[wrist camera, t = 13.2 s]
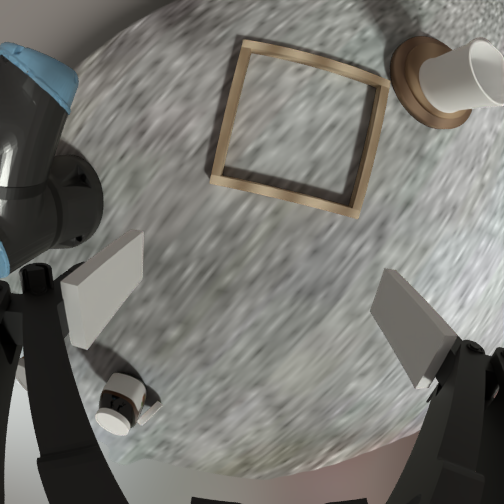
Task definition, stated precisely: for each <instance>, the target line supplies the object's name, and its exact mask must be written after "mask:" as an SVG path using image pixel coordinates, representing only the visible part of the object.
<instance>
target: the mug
mask: <svg viewBox="0 0 504 504" xmlns="http://www.w3.org/2000/svg"><path fill="white" fill-rule="evenodd" d="M419 82H420V86H421V89H422V92H423V94H424V95H425V97H426V99H427V100H428V101H429V102H430V104H431V105H433V106H434V107H435V108H436V109H438V110H439V111H442V112H445V113H454V112H456V111H458V110H466V109H475V108H485V107H496V106H504V57H503V55H502V54H501V53H500V52H499V51H498V49H497V48H495V47H494V46H493V45H492V44H491V43H490V41H489V40H487V39H486V38H482V37H480V38H476V39H473V40H472V41H470V42H469V43H468V44H466V45H464V46H461V47H459V48H457V49H454V50H452V51H450V52H447V53H445V54H443V55H441V56H438V57H436V58H430V59H428V60H426V61H425V62H424V63H423V64H422V65H421V67H420V70H419Z"/></svg>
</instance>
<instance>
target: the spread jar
mask: <svg viewBox="0 0 504 504" xmlns="http://www.w3.org/2000/svg"><path fill="white" fill-rule="evenodd" d="M146 395H147V389H146V386H145V384H144V383H143V382H142V381H141V380H140V379H139V378H137V377H136V376H134V375H131V374H128V373H123V372H116V373H113V374H112V375H111V377H110V378H109V380H108V382H107V383H106V385H105V387H104V388H103V391H102V393H101V396H100V401H99V410H98V411H97V413H96V415H95V418H96V421H97V422H98V424H99V425H100V426H101V427H103V428H104V429H105V430H107V431H109V432H110V433H113V434H116V435H121V436H123V435H127V434H128V432H129V429H130V428H132V427H134V426H135V425H136V423H137V422H138V423H139V424H140V425H141V426H142V425H143V424H144V423H145V422H147V421H148V420H149V419H150V418H151V417H152V416H153V415H154V414H155V413H156V412H157V411H158V410H159V409H160V408H161V407H162V406H163V405H162V404H161V403H160V402H159V401H157V402H156V403H155V404H154V405H153V406H152V407H151V408H150V409H149V410H147V411H146V412H145V413H144V414H143V415H142V416H141V417H140V419H139V416H140V414H141V412H142V409H143V406H144V403H145V400H146ZM138 419H139V420H138Z"/></svg>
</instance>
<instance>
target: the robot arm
mask: <svg viewBox="0 0 504 504" xmlns="http://www.w3.org/2000/svg"><path fill="white" fill-rule="evenodd" d="M78 83H79V80H78V76H77V74H76V72H75V71H74V70H73V69H71V68H70V67H69V66H67V65H65V64H64V63H62V62H60V61H58V60H56V59H54V58H52V57H50V56H48V55H45V54H43V53H40V52H38V51H36V50H33V49H30V48H25V47H23V46H20V45H17V44H15V43H10V42H4V43H2V44H1V45H0V278H4V277H7V276H8V275H9V274H10V273H12V272H13V271H15V270H16V269H18V268H19V267H21V266H23V265H24V264H26V263H27V262H29V261H30V260H32V259H34V258H35V257H37V256H38V255H40V254H42V253H43V252H45V251H47V250H48V249H64V248H73V247H76V246H78V245H80V244H82V243H83V242H85V241H87V240H88V239H89V238H90V237H91V236H92V235H93V234H94V233H95V232H96V230H97V228H98V226H99V224H100V221H101V218H102V214H103V192H102V187H101V184H100V181H99V179H98V176H97V174H96V173H95V171H94V170H93V168H92V167H91V166H90V165H89V164H88V163H87V162H86V161H85V160H84V159H82V158H80V157H78V156H75V155H59V156H55V157H54V155H55V152H56V149H57V145H58V142H59V139H60V136H61V133H62V130H63V128H64V125H65V122H66V119H67V117H68V115H70V112H71V110H70V107H71V104H72V101H73V99H74V96H75V93H76V90H77V88H78ZM143 240H144V231H140V230H133V229H130V230H129V231H128V232H126V233H125V234H123V235H122V236H120V237H119V238H118V239H116V240H115V241H113V242H112V243H111V244H109V245H108V246H106V247H105V248H104V249H102V250H101V251H100V252H98V253H97V254H96V255H94V256H93V257H92V258H90V259H89V260H88V261H86V262H81V263H79V264H76V265H74V266H72V267H71V268H70V269H68V271H66V272H64V273H63V275H60V276H59V277H58V278H57V279H55V280H54V281H53V276H52V268H51V266H50V265H48V264H46V263H32V264H29V265H26V266H24V267H23V268H21V269H20V271H19V275H20V281H21V286H22V292H23V294H14V293H11V292H10V287H9V284H8V283H7V282H6V281H1V280H0V504H4V461H5V444H6V433H7V424H8V416H9V408H10V402H11V396H12V391H13V386H14V381H15V376H16V371H17V367H18V362H19V358H20V354H21V350H22V347H23V351H24V364H25V374H26V383H27V391H28V397H29V403H30V410H31V415H32V420H33V425H34V429H35V434H36V438H37V443H38V447H39V451H40V458H37V466H38V471H39V474H40V477H41V481H42V484H43V487H44V490H45V493H46V495H47V498H48V501H49V504H129V503H128V501H127V500H126V498H125V496H124V495H123V493H122V491H121V489H120V487H119V485H118V483H117V482H116V480H115V478H114V476H113V474H112V472H111V470H110V468H109V466H108V464H107V462H106V460H105V458H104V455H103V453H102V451H101V449H100V447H99V444H98V442H97V440H96V437H95V435H94V432H93V430H92V428H91V425H90V422H89V420H88V417H87V415H86V412H85V409H84V406H83V404H82V401H81V398H80V395H79V392H78V389H77V385H76V382H75V379H74V376H73V372H72V369H71V365H70V362H69V358H68V354H67V350H66V346H65V342H64V338H65V337H66V336H67V334H68V333H69V336H70V340H71V345H73V346H76V347H80V348H83V349H86V350H88V349H89V347H90V346H91V345H92V343H93V342H94V341H95V339H96V338H97V336H98V335H99V334H100V332H101V331H102V330H103V328H104V327H105V326H106V325H107V323H108V322H109V321H110V319H111V318H112V317H113V315H114V314H115V313H116V312H117V310H118V309H119V308H120V306H121V305H122V304H123V303H124V301H125V300H126V299H127V297H128V296H129V295H130V294H131V292H132V291H133V290H134V289H135V288H136V286H137V285H138V284H139V283H140V281H141V280H142V279H143ZM370 312H371V314H372V315H373V317H374V319H375V320H376V322H377V324H378V325H379V327H380V328H381V330H382V332H383V333H384V335H385V337H386V338H387V340H388V342H389V344H390V345H391V347H392V349H393V350H394V352H395V354H396V355H397V357H398V359H399V361H400V362H401V364H402V366H403V368H404V369H405V371H406V373H407V375H408V377H409V378H410V380H411V382H412V384H413V386H414V388H415V389H421V388H429V386H430V385H431V383H432V381H433V380H434V378H435V377H436V379H437V380H438V382H439V383H438V385H437V386H436V388H435V389H434V391H433V392H432V394H431V395H430V397H429V398H428V400H427V401H426V402H429V401H430V400H431V402H430V405H429V408H428V411H427V414H426V417H425V419H424V422H423V425H422V428H421V430H420V433H419V435H418V438H417V440H416V443H415V445H414V448H413V450H412V452H411V455H410V457H409V459H408V461H407V463H406V466H405V468H404V470H403V472H402V474H401V476H400V478H399V480H398V482H397V484H396V486H395V488H394V490H393V492H392V494H391V495H390V497H389V499H388V501H387V502H386V504H504V348H502V347H498V348H496V350H495V352H494V354H493V355H492V356H488V355H485V351H484V349H483V348H482V347H481V346H480V345H479V344H477V343H476V342H473V341H470V340H463V341H462V340H461V339H460V337H459V336H458V335H457V334H456V333H455V332H454V331H453V329H452V328H451V327H450V326H449V325H448V324H447V323H446V322H445V321H444V319H443V318H442V317H441V316H440V315H439V314H438V313H437V312H436V311H435V310H434V309H433V308H432V307H431V306H430V304H429V303H428V302H427V301H426V300H425V299H424V298H423V297H422V296H421V295H420V294H419V293H418V292H417V291H416V290H415V289H414V288H413V287H412V286H411V285H410V284H409V283H408V282H407V281H406V280H405V279H404V278H403V277H402V276H401V275H400V274H399V273H398V272H397V271H396V270H392V269H386V268H384V271H383V275H382V278H381V281H380V284H379V287H378V290H377V293H376V296H375V298H374V301H373V304H372V307H371V310H370ZM497 391H498V393H497ZM496 393H497V395H496V397H495V398H494V395H495V394H496ZM475 470H476V472H475ZM191 504H241V503H236V502H225V501H217V500H209V499H203V498H196V497H192V499H191ZM326 504H368V503H367V498H363V499H357V500H349V501H341V502H330V503H326Z"/></svg>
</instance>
